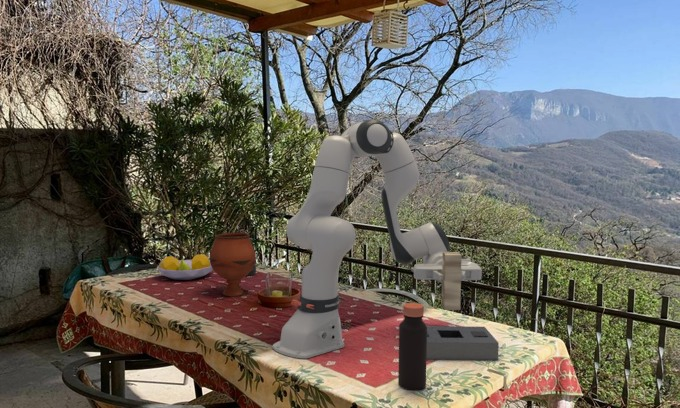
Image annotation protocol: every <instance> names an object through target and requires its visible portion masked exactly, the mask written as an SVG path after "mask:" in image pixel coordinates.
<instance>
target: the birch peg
mask: <svg viewBox="0 0 680 408" xmlns="http://www.w3.org/2000/svg"><path fill="white" fill-rule="evenodd" d="M461 257H462V254H461V253H460V252H458V251H449V252H443V258H442V273H443V274H444V280H442V283H441V307H442V308H443V310H445V311H446V310H448V311H449V310H450V311H451V310H452V311H461V298H462V297H461V294H462V292H461V291H462V289H461V287H462V281H461ZM462 258H463V257H462Z"/></svg>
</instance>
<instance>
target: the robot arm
mask: <svg viewBox="0 0 680 408" xmlns="http://www.w3.org/2000/svg"><path fill="white" fill-rule="evenodd" d="M371 156H372V157H374V158H375V159H376V161H378V163H379V164H380V167H381V170H382V172H383V176H384V180H385V181H384V188H383V189H382V190H381V196H380V198H381V203H382V208H383V214H384V217H385V223H386V227H387V231H388V237H389V244H390V245H389V246H390V247H389V248H390V253H391V255H392V257H393V259H394V260H395V262H396V263H398V264H401V265H406V266H407V265H409V264H412V263H413V262H415V261H417V260H418V259H419V260H420V259H421V258H422V263H416V264H414V266H411V267H410V270H411V272H413V278H414V279H415V280H422V281H425V280H426V281H427V280H429V281H431V280H434V281H436V282H438V283H441V284H442V280H444V274H443V273H442V258H443V252H450V241H449V239H448V237H447V234H446V233H445V231H444V229H443V228H442V226H440V225H439V224H438V223H435V222H432V221H430V222H427V223H425V224H422V225H419V226H417V227H415V228H413V229H410V230H409V231H405V232H402V231H401V228H400V221H399V218H398V213H397V212H398V206H399V205H400V203H401V202H402V201H403V200H404V199H405V197H407V196H408V195H409V194H410V193H411V192H412V191H413V190H414V189H415V188H416V187H417V184H418V182H419V180H420V170H419V167H418V164H417V161H416V158H415V156H414V154H413V152H412V150H411V147H410V146H409V145H408V143H407V141H406V139H405V138H404V136H403V135H401V133H397V132H392V130H390V129H389V127H388V125H386V124H385V123H384V122H383V121H381V120H379V119H373V118H371V119H366V120H363V121H358V122H355V123H354V124H352V125H351V126H349V127H346V128H345V129H344V130H343V131H342V132H341V134H340V135H335V134H334V135H329V136H327V137H325V138H324V140H323V141H322V143H321V145H320V148H319V150H318V154H317V156H316V160H315V162H314V163H315V164H314V167H313V168H314V169H313V173H312V178H311V183H310V186H309V190H308V193H307V196H306V198H305V200H304V202H303V204H302V205H301V207H300V209H299V210H298V211H297V213H296V214H295V215H292V217H291V218H290V219H289V220H288V221H287V224H286V236H287V239H288V240H289V241H290V242H291V244H294V245H295V246H297V247H299V248H302V249H305V250H306V249H307V250H311V251H312V252H311V253H312V255H311V258H310V261H309V263H308V264H307V265H305V266H304V268H303V269H302V271H301V294H300V296H299V299H295V298H294V299H292V300H291V306H293V307H296V308H297V310H296V311H295V312H294V313H293V314H292V316H290V318H289V319H288V321H287V322H285V324H284V325H283V326H282V327H281V334H280V340H279V341H277V342H274V343H273V344H272V349H273V350H274V351H275V352H277V353H279V354H281V355H284V356H287V357H289V358H290V357H291V358H294V359H295V358H297V359H310V358H313V357H316V356H317V357H318V356H319V355H323V354H325V353H329V352H333V351H336V350H338V349H342V348H345V342H344V340H343V335H342V334H343V332H342V323H341V317H340V314H339V310H338V309H339V308H340V302H339V296H340V295H338V292H339V289H338V286H339V269H340V267H341V263H342V260H343V258H344V257H345V255H346V254H347V253H348V252H349V251H351V249H352V248H353V246H354V244H355V242H356V229H355V227H354V225H353V223H351V222H350V221H348V220H345V219H343V218H341V217H338V216H334V215H333V216H331V215H332V214H333V213H334V212H333V211H334V210H335V209H336V207H337V206H338V205H340V204H341V203H342V202H344V200H345V198H346V196H347V191H348V184H349V179H350V175H351V170H352V169H351V168H352V164H353V162H354V160H355V159H359V158H367V157H368V158H369V157H371ZM471 259H472V258H469V257H461V282H462V281H480V280H482V273H483V270H482V267H481V266H480V265H479V264H478V263H475V262H472V260H471Z"/></svg>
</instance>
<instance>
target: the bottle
mask: <svg viewBox="0 0 680 408" xmlns="http://www.w3.org/2000/svg"><path fill="white" fill-rule="evenodd" d="M402 307H403V308H402V310H403V311H402V313H403V317H404V319H403V320H402V321H401V322H400V323H399V326H398V369H397V370H398V372H397V373H398V376H397V377H398V379H397V381H398V385H399V386H400V387H401V388H402V387H403V388H402V389H404V390H405V389H406V390H409V391H419V390H423V389H424V388H425V387H426V385H427V360H426V355H427V326H428V325H427V324H426V323H425V321H424V320H423V317H424V313H425V312H424V308H425V307H424V305H423V304H422V303H418V302H409V303H408V302H407V303H404V304H403V306H402Z"/></svg>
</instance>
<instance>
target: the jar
mask: <svg viewBox="0 0 680 408" xmlns="http://www.w3.org/2000/svg"><path fill="white" fill-rule="evenodd" d="M256 272H257V261H256V262H255V265H254V267H253V269H252V270H251V271H250V272H249V274H248V275H246V277H245V278H248V277H247V276H250V277H254V276H255V275H256ZM253 275H254V276H253Z"/></svg>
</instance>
